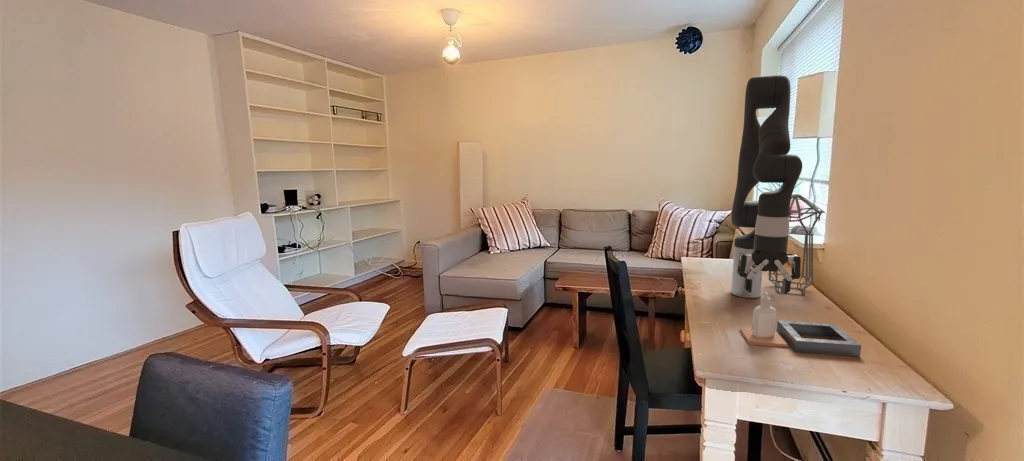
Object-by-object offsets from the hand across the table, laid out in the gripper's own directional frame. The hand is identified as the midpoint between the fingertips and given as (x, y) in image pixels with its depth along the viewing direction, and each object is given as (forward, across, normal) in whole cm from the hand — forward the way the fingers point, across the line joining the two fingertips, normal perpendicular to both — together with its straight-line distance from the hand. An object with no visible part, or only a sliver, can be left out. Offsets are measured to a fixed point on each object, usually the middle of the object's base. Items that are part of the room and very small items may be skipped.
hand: (766, 292), depth 116 cm
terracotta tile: (+13, 0, 0) cm, 13 cm away
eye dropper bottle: (+12, 0, 0) cm, 12 cm away
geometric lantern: (+14, -21, -48) cm, 54 cm away
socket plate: (+13, -12, 0) cm, 18 cm away
